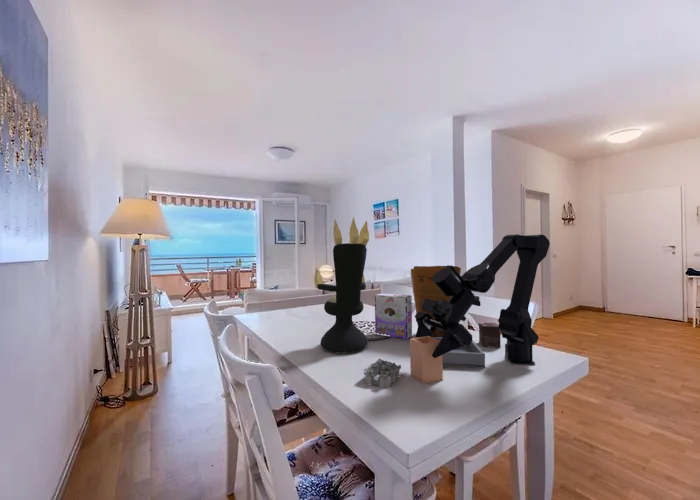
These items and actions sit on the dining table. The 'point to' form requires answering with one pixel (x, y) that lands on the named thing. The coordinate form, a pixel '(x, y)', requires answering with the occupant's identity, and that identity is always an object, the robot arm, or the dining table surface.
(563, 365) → the dining table surface
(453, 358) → the grey square tray
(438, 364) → the orange square container
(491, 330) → the box
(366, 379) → the grey jagged ring
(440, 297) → the pancake mix bag
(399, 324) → the candy box
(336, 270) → the candelabra
